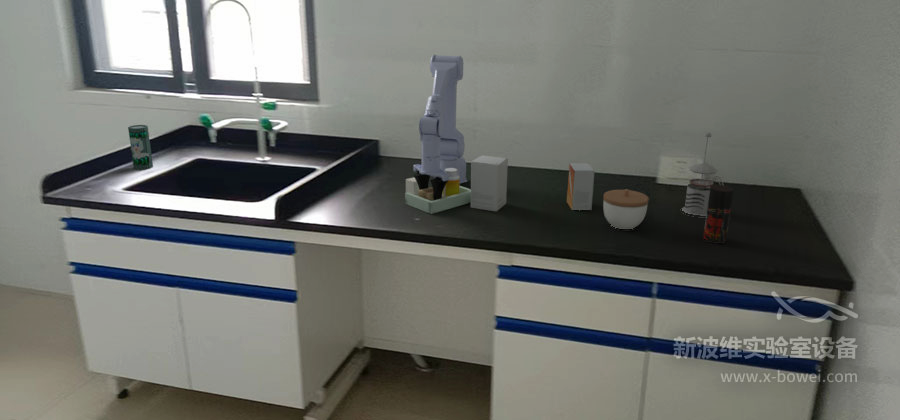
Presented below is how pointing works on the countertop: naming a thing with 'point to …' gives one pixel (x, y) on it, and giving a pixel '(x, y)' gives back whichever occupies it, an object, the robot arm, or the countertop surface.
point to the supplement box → (488, 182)
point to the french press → (697, 185)
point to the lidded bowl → (624, 208)
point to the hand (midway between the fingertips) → (430, 197)
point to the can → (140, 147)
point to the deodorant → (718, 213)
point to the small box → (580, 186)
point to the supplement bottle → (451, 183)
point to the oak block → (426, 193)
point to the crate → (439, 201)
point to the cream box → (412, 186)
